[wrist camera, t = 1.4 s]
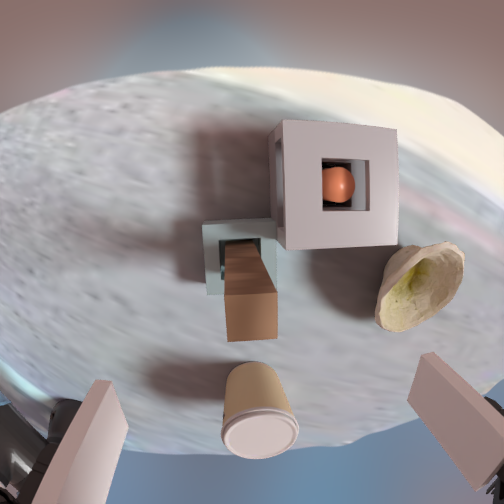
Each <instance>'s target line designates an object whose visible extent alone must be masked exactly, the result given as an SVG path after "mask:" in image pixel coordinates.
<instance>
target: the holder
mask: <svg viewBox="0 0 504 504" xmlns="http://www.w3.org/2000/svg"><path fill="white" fill-rule="evenodd" d="M202 234H203V250H204V264H205V276H206V289H207V295H221V294H224V279H225V241H231V240H253V242H254V244H255V246H256V248H257V250H258V253H259V255H260V257H261V259H262V261H263V263H264V265H265V267H266V269H267V271H268V274H269V276H270V278H271V280H272V282H273V284H274V286H275V288H276V290H277V253H276V221H274V220H273V219H272V218H252V219H229V220H210V221H204V223H203V224H202Z"/></svg>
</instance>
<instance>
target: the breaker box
mask: <svg viewBox="0 0 504 504" xmlns="http://www.w3.org/2000/svg"><path fill="white" fill-rule="evenodd" d="M268 149H269V178H270V214H271V218H272V219H273V220H274V221H276V240H277V241H278V242H279V243H280V244H281V245H282V247H283V248H284V249H285V250H304V249H324V248H344V247H363V246H383V245H397V239H398V216H399V166H398V144H397V129H390V128H383V127H376V126H367V125H359V124H349V123H338V122H325V121H308V120H282V121H281V122H280V123H279V124H278V125H277V127H276V128H275V129H274V130H273V131H272V133H271V134H270V135H269V136H268ZM322 165H335V167H342V168H345V169H347V170H348V171H349V172H350V173H351V174H352V176H353V177H354V180H355V190H354V193H353V195H352V196H351V198H350V199H348V200H347V201H345V202H336V204H322Z"/></svg>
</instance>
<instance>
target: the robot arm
mask: <svg viewBox="0 0 504 504" xmlns="http://www.w3.org/2000/svg"><path fill="white" fill-rule="evenodd" d="M407 401H408V403H409V404H410V405H411V407H412V408H413V409H414V410H415V412H416V413H417V414H418V416H419V417H420V418H421V419H422V421H423V422H424V423H425V424H426V426H427V427H428V429H429V430H430V431H431V433H432V434H433V435H434V436H435V438H436V439H437V440H438V442H439V443H440V444H441V446H442V447H443V448H444V450H445V451H446V452H447V454H448V455H449V456H450V458H451V459H452V460H453V462H454V463H455V465H456V466H457V467H458V469H459V470H460V471H461V472H462V474H463V475H464V477H465V478H466V480H467V481H468V482H469V484H470V485H471V486H472V488H473V489H474V491H477V490H479V489H480V488H482V487H483V486H485V485H486V484H488V483H489V481H490V480H491V479H492V478H493V477H494V476H495V474H496V475H497V476H498V478H497V479H496V480H495V481H494V482H493V484H492V485H491V486H490V487H489V488H488V489H487V492H486V494H488V493H489V492H490V491H491V490H492V489H493V488H494V487H495V489H494V490H493V491H492V493H491V494H494V498H493V504H504V409H502V407H501V406H500V405H499V404H498V403H497V402H496V401H494V400H492V399H490V398H488V397H484V398H483V397H482V396H481V395H480V394H479V393H478V392H477V391H476V390H475V389H474V388H473V387H472V386H471V385H469V384H468V383H467V382H466V381H465V380H464V379H463V378H462V377H461V376H460V375H459V374H457V373H456V372H455V371H454V370H453V369H452V368H451V367H450V366H449V365H448V364H446V363H445V362H444V361H443V360H442V359H441V358H440V357H439V356H437V355H436V354H435V353H434V352H431V353H427V354H424V355H421V357H420V361H419V364H418V368H417V371H416V374H415V378H414V381H413V384H412V387H411V390H410V393H409V396H408V399H407ZM128 428H129V426H128V424H127V421H126V419H125V416H124V414H123V411H122V408H121V406H120V403H119V400H118V397H117V394H116V392H115V389H114V386H113V383H112V381H106V380H95V382H94V383H93V385H92V387H91V389H90V390H89V392H88V394H87V395H86V397H85V399H84V401H83V402H79V401H75V400H63V401H60V402H58V403H57V404H56V406H55V407H54V409H53V410H52V412H51V416H50V423H49V430H48V437H47V439H45V438H44V437H43V436H42V435H41V434H40V433H39V432H38V431H37V430H36V429H35V428H34V427H33V426H32V425H31V424H30V423H29V422H28V421H27V420H26V419H25V418H24V417H23V416H22V415H21V414H20V412H19V411H18V410H17V409H16V408H15V407H14V406H13V404H12V402H11V401H10V400H8V399H7V398H6V397H5V396H4V394H3V393H2V392H1V391H0V504H105V503H106V499H107V495H108V492H109V488H110V485H111V482H112V478H113V475H114V472H115V469H116V465H117V462H118V459H119V456H120V452H121V450H122V447H123V443H124V440H125V437H126V434H127V431H128ZM9 483H10V484H11V485H12V486H13V487H15V488H16V489H17V490H18V492H17V498H16V499H15V498H14V497H13V496H12V495H11V494H10V493H9V492H8V491H7V490H6V487H7V485H8V484H9Z"/></svg>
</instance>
